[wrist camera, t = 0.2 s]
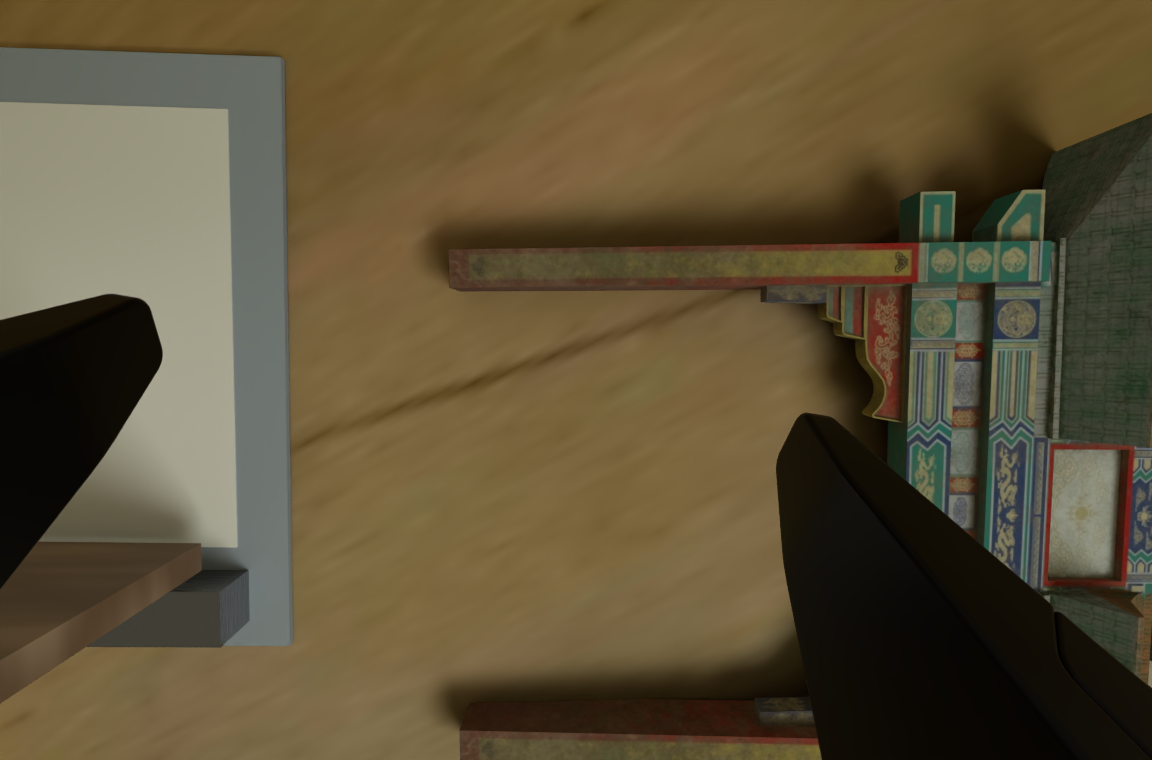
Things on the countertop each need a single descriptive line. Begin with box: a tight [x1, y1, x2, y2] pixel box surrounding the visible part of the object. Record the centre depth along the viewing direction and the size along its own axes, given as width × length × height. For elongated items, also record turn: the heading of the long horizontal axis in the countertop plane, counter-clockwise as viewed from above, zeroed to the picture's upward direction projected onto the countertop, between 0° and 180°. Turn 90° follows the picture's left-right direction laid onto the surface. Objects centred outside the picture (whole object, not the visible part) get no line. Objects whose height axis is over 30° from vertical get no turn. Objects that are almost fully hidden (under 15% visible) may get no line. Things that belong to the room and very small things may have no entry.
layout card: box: [0, 47, 293, 646], centre depth 22 cm, size 22×15×1 cm
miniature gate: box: [449, 113, 1152, 760], centre depth 22 cm, size 27×6×30 cm
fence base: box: [86, 570, 250, 647], centre depth 22 cm, size 2×12×2 cm, turn 89°
